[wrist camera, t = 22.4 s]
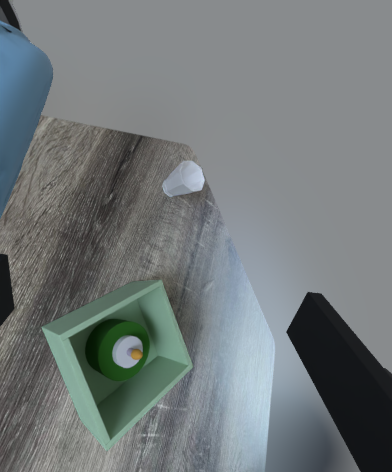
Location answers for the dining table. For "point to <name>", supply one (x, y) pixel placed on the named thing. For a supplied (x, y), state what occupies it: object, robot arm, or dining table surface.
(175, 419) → the dining table surface
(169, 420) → the dining table surface
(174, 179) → the cup
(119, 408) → the bin
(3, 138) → the robot arm
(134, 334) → the candle
